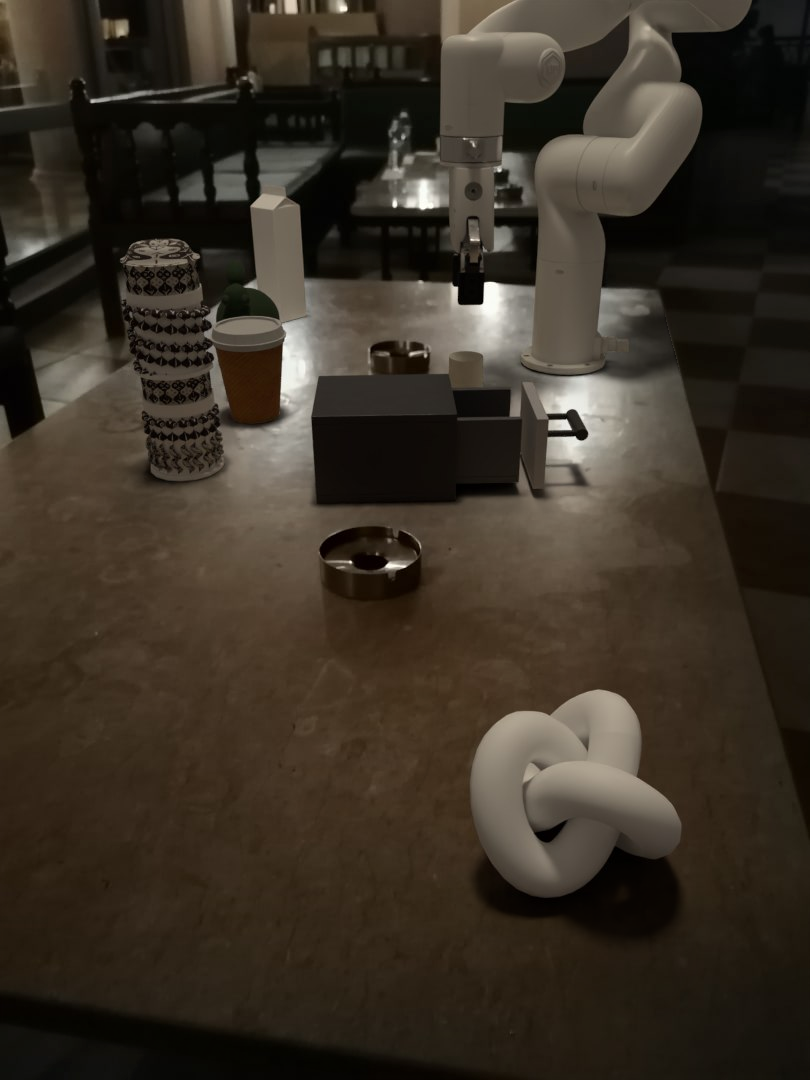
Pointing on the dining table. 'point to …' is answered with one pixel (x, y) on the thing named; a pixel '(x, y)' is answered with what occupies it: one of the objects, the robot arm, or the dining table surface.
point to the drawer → (505, 435)
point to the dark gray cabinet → (384, 438)
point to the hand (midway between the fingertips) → (467, 295)
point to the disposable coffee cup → (250, 365)
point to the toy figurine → (243, 297)
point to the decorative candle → (172, 359)
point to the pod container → (466, 369)
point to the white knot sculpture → (566, 794)
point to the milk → (279, 251)
